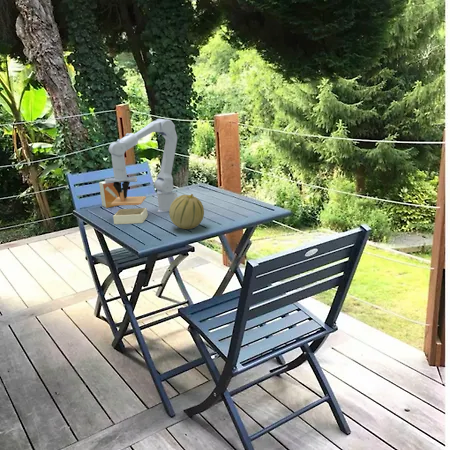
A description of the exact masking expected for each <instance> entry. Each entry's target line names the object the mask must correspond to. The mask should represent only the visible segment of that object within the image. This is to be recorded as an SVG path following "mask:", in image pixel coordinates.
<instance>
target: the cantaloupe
mask: <svg viewBox="0 0 450 450" xmlns="http://www.w3.org/2000/svg"><path fill="white" fill-rule="evenodd" d="M204 209H205V208H204V205H203V203H202V201H201V200H200V199H199V198H198V197H197V196H195V195H194V194H193V193H192V194H182V195H180V196H177V198H176V199H175V200H174V201H173V202H172V204H171V206H170V209H169V211H168V212H169V213H168V215H169V217H170V220H171V223H173V225H175V226H176V227H177V228H180V229H182V230H191V229H194V228H196V227H198V226H199V225H200V224H201V223H202V221H203V219H204V217H205V216H204V215H205V210H204Z"/></svg>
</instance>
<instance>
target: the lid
mask: <svg viewBox="0 0 450 450" xmlns="http://www.w3.org/2000/svg"><path fill="white" fill-rule="evenodd" d="M121 190H122V191H121V192H120V197H117V198H116V199H115V200H114V201H113V202H112V203H111V205H119V206H139V205H142V203H143V202H144V201H145V200H146V199H147V196H146V195H145V196H127V197H126V198H124V191H123V189H121Z"/></svg>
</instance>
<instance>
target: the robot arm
mask: <svg viewBox="0 0 450 450" xmlns="http://www.w3.org/2000/svg"><path fill="white" fill-rule="evenodd" d="M152 133H159V134H160V135H161V137H163V138H164V140H165V142H164V148H163V153H162V159H161V165H160V170H159V171H160V172H159V173H158V174H157V177H156V179H155V181H154V185H153V186H154V188H155V189H156V191H157V192H156V193H157V202H158V203H157V204H158V210H157V211H156V213H157V212H158V213H159V212H160V213H161V212H162V213H163V212H169V209H170V206H171V204H172V202H173V201H174V200H175V199H176V198H177V197H178V193H177V192H175V191H173V190H174V178H173V175H172V172H173V166H174V160H175V155H176V148H177V145H178V144H177V143H178V135H177V132H176V125H175V123H174V122H173V121H172V120H171V119H167V118H165V119H164V118H157V119H155V120H153V121H151V122H149V123H148V124H147V125H145V126H144V127H142V128H140V130H138V131H136V132H135V133H132V132H130V133H129V132H127V133H125V136H123V137H122V138H118V139H117V140H116V141H113V142H111V143H110V144H109V145H108V146H109V147H108V153H110V154H111V163H112V165H111V166H112V169H113V170H112V171H113V177H110V178H109V177H108V178H105V179H104V181H105V184H107V183H114V184H113V186H114V187H115V189H116V190H117V192H118V194H119V197H120V192H121V191H122V190H123V191H124V198H126V197H128V191H129V186H130V183H137V182H138V178H137V177H138V176H128V174H127V168H126V167H127V165H126V160H125V153H126V152H127V151H128V150H130V149H132V148H134V147H135V146H136V145H138V143H139V141H140V140H141V139H143V138H144V137H146V136H148V135H150V134H152Z"/></svg>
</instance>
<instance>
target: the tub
mask: <svg viewBox="0 0 450 450" xmlns="http://www.w3.org/2000/svg"><path fill="white" fill-rule="evenodd" d="M137 213H139V214H137ZM134 214H136V215H134ZM148 216H149V215H148V207H141V208H140V207H138V208H120V209H118V210H117V212H115V214H113V216H112V218H113V224H114V225H125V224H127V225H130V224H132V225H133V224H143V223H144V221H146V219H147V218H148Z"/></svg>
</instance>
